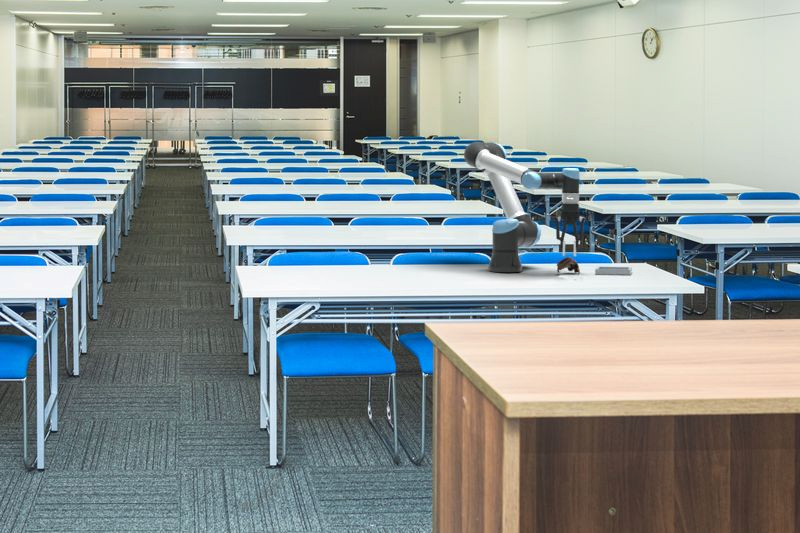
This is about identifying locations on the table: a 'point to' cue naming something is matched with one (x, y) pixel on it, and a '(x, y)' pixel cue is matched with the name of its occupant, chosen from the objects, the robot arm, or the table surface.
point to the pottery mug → (568, 265)
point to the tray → (613, 271)
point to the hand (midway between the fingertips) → (569, 255)
